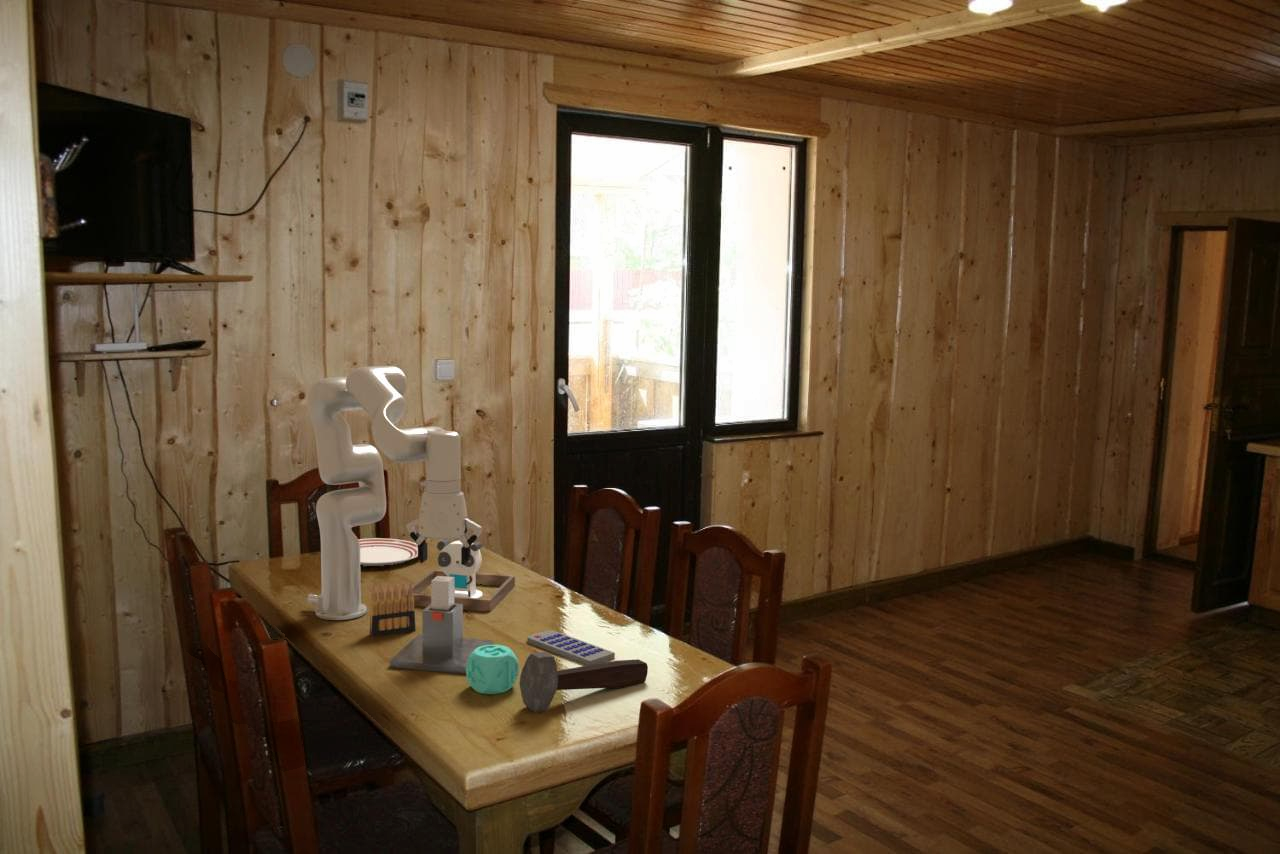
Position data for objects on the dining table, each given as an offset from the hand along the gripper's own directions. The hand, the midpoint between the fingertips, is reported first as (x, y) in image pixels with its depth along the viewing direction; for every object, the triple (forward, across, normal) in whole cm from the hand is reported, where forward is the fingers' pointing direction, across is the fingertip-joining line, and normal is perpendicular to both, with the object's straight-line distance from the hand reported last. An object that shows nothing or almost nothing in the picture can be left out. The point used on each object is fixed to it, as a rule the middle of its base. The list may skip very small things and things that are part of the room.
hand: (444, 562), depth 235 cm
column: (+20, -1, 0) cm, 20 cm away
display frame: (+21, -12, +46) cm, 52 cm away
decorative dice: (+23, +15, -14) cm, 31 cm away
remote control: (+23, +26, +12) cm, 37 cm away
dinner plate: (+21, -48, +76) cm, 93 cm away
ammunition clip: (+22, -18, +14) cm, 31 cm away
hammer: (+23, +36, -14) cm, 45 cm away
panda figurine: (+22, -12, +46) cm, 53 cm away
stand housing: (+22, -1, 0) cm, 22 cm away
